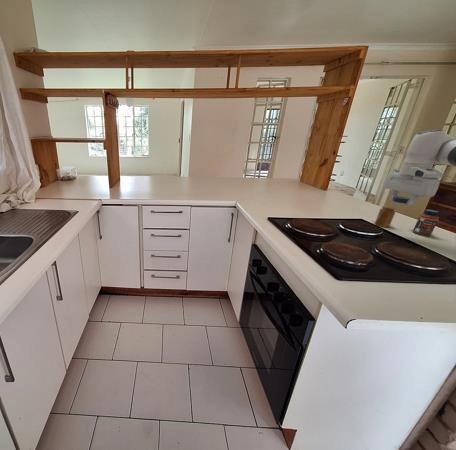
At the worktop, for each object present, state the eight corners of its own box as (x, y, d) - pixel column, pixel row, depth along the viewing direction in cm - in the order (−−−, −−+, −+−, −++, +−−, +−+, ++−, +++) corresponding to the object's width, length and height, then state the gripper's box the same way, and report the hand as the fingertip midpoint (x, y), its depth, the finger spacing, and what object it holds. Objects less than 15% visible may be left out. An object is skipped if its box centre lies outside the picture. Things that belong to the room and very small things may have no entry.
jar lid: (399, 203, 101) (401, 198, 101) (388, 199, 107) (390, 195, 106) (415, 204, 101) (417, 200, 100) (403, 200, 106) (405, 196, 106)
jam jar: (383, 223, 122) (389, 205, 119) (392, 227, 117) (400, 209, 113) (371, 223, 122) (378, 205, 119) (380, 227, 117) (387, 208, 114)
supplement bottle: (416, 234, 108) (427, 211, 104) (409, 230, 113) (419, 208, 109) (434, 237, 106) (445, 213, 102) (425, 232, 111) (436, 209, 107)
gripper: (385, 167, 109) (374, 196, 114) (430, 173, 90) (415, 208, 95) (399, 168, 109) (388, 197, 113) (448, 174, 90) (432, 209, 94)
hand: (401, 202), depth 104 cm, fingers closed on jar lid, 6 cm apart
